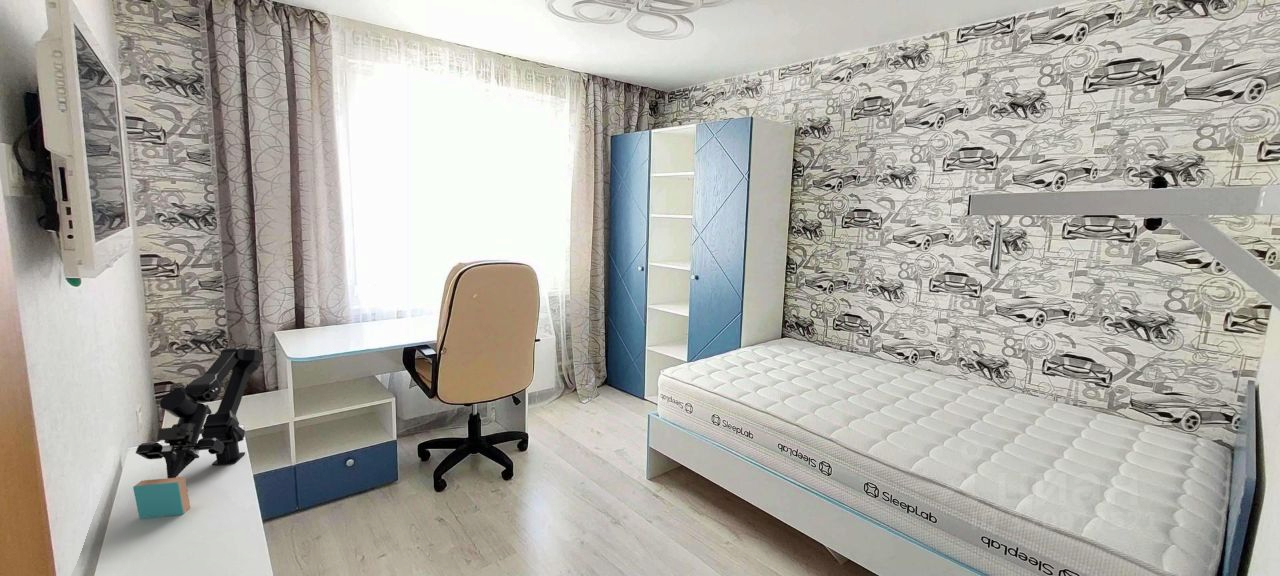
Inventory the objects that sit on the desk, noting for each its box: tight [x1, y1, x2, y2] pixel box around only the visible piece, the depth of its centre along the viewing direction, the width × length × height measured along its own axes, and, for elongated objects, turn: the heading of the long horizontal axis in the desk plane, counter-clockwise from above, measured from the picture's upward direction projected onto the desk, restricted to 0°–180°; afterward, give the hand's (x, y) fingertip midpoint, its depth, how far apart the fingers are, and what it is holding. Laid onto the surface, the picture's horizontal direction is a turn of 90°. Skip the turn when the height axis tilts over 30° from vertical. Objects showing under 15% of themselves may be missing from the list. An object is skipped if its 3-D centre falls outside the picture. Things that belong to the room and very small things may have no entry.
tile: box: [132, 476, 191, 519], centre depth 139 cm, size 3×10×9 cm, turn 100°
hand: (170, 480), depth 143 cm, fingers closed
